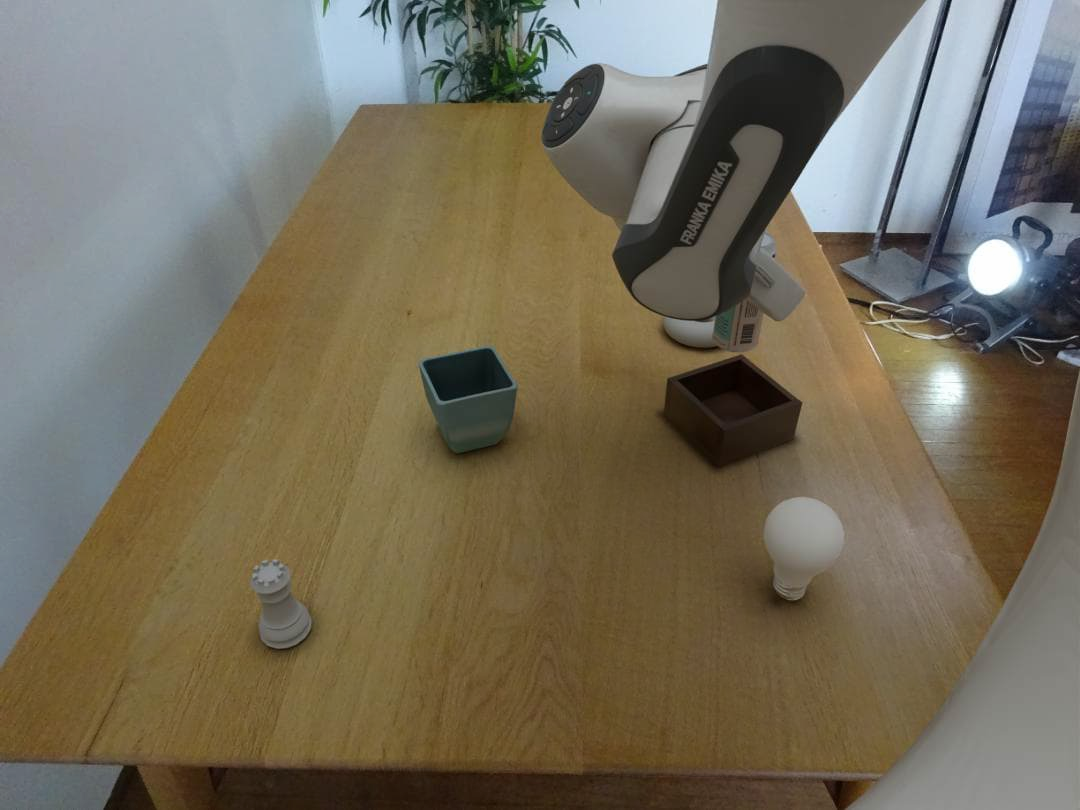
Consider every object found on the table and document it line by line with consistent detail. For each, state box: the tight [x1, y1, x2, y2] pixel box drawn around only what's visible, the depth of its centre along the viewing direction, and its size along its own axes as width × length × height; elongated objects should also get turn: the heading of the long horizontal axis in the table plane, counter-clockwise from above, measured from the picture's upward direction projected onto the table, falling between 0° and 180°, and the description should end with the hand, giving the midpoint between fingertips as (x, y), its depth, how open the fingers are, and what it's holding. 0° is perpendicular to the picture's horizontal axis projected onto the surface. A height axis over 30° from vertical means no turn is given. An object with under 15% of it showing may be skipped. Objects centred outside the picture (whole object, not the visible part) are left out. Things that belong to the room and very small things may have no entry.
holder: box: [663, 353, 803, 469], centre depth 92 cm, size 11×11×5 cm
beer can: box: [712, 231, 778, 353], centre depth 80 cm, size 5×5×12 cm
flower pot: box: [417, 345, 519, 454], centre depth 89 cm, size 9×9×9 cm
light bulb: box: [763, 496, 845, 602], centre depth 71 cm, size 7×7×11 cm
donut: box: [662, 316, 718, 349], centre depth 108 cm, size 10×3×10 cm
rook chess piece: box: [249, 558, 313, 650], centre depth 69 cm, size 4×4×8 cm
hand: (749, 285), depth 80 cm, fingers closed on beer can, 5 cm apart
